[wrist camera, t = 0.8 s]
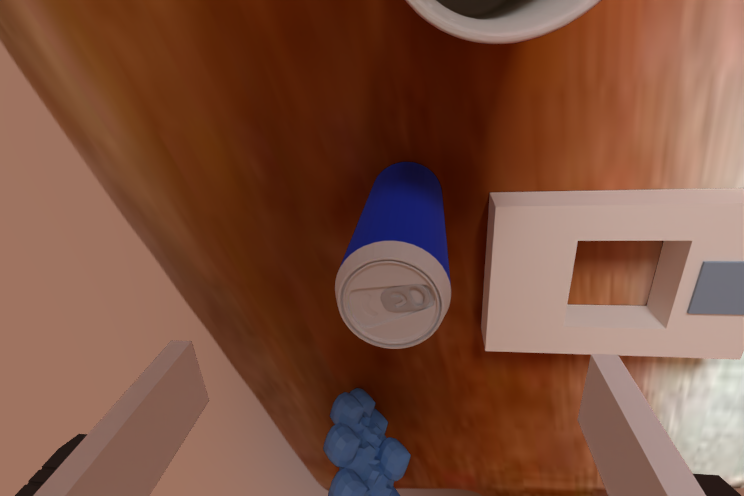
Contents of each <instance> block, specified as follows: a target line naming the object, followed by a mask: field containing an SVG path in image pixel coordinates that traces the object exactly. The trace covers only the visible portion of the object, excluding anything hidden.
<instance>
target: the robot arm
mask: <svg viewBox="0 0 744 496" xmlns="http://www.w3.org/2000/svg"><path fill="white" fill-rule="evenodd" d="M208 402H209V398H208V395H207V391H206V388H205V385H204V381H203V378H202V375H201V372H200V368H199V365H198V362H197V358H196V355H195V351H194V348H193V344H192V341H170V343H169V344H168V345H167V346H166V347H165V348H164V349H163V351H162V352H161V353H160V354H159V355H158V356H157V357H156V358H155V359H154V361H153V362H152V363H151V364H150V365H149V366H148V367H147V368H146V370H145V371H144V372H143V373H142V374H141V375H140V376H139V377H138V379H137V380H136V381H135V382H134V383H133V384H132V385H131V386H130V388H129V389H128V390H127V391H126V392H125V393H124V394H123V396H121V398H120V399H119V400H118V401H117V402H116V403H115V404H114V406H113V407H112V408H111V409H110V410H109V411H108V412H107V413H106V414H105V416H104V417H103V418H102V419H101V420H100V421H99V422H98V423H97V425H96V426H95V427H94V428H93V429H92V430H91V431H90V433H89V434H88V435H87V434H86V435H85V434H78V435H77V436H76V437H74V438H73V439H72V440H70V441H69V442H67V443H66V444H65V445H63V446H62V447H61V448H59V449H58V450H57V451H56V452H55V453H54V454H53V455H52V456H51V458H50V459H49V460H48V461H47V462H46V463H45V464H44V465H43V466H42V469H41V470H38V472H37V473H36V474H35V475H34V476H33V477H32V478H31V479H30V480H29V483H28V484H27V485H24V487H23V488H22V489H21V490H20V491H19V492H18V493H17V494H16V495H15V496H150V494H151V492H152V491H153V489H154V488H155V486H156V484H157V483H158V481H159V480H160V478H161V476H162V475H163V473H164V472H165V470H166V468H167V467H168V465H169V464H170V462H171V461H172V459H173V457H174V456H175V454H176V452H177V451H178V449H179V448H180V446H181V444H182V443H183V441H184V440H185V438H186V437H187V435H188V433H189V432H190V430H191V429H192V427H193V425H194V424H195V422H196V421H197V419H198V418H199V416H200V414H201V412H202V411H203V410H204V408H205V406H206V405H207V403H208ZM578 422H579V424H580V427H581V429H582V432H583V434H584V437H585V439H586V442H587V444H588V447H589V449H590V452H591V454H592V457H593V459H594V461H595V464H596V466H597V469H598V471H599V474H600V476H601V479H602V481H603V484H604V486H605V489H606V491H607V493H608V496H741V495H740V494H739V493H738V492H737V491H736V490H734V489H733V488H732V487H731V486H730V485H729V484H728V483H726V482H725V481H724V480H723V479H722V478H721V477H720V476H719V475H704V474H692V472H691V471H690V469H689V467H688V466H687V464H686V463H685V461H684V459H683V458H682V456H681V455H680V453H679V451H678V450H677V448H676V447H675V445H674V444H673V442H672V440H671V439H670V437H669V436H668V434H667V432H666V431H665V429H664V428H663V426H662V424H661V423H660V421H659V420H658V418H657V416H656V415H655V413H654V412H653V410H652V408H651V407H650V405H649V404H648V402H647V400H646V399H645V397H644V396H643V394H642V392H641V391H640V389H639V388H638V386H637V384H636V383H635V381H634V380H633V378H632V376H631V375H630V373H629V372H628V370H627V368H626V367H625V365H624V364H623V362H622V360H621V359H620V357H619V356H618V355H610V354H591V357H590V362H589V367H588V372H587V376H586V381H585V386H584V391H583V396H582V401H581V406H580V410H579V415H578Z"/></svg>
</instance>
